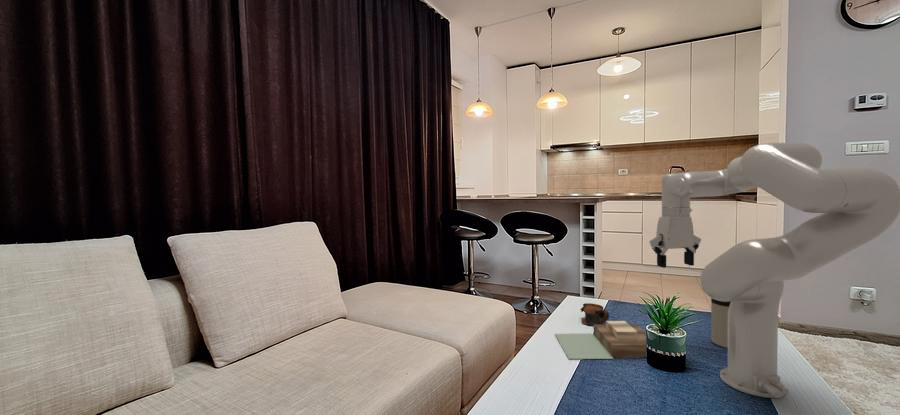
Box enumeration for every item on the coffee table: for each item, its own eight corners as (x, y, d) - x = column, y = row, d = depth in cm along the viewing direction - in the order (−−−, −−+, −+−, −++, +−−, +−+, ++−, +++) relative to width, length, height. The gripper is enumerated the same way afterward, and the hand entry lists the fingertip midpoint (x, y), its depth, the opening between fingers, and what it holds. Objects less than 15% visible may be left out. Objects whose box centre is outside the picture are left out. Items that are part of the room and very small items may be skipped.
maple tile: (637, 339, 107) (637, 331, 107) (617, 339, 107) (617, 331, 107) (624, 328, 116) (624, 320, 116) (606, 328, 116) (606, 321, 116)
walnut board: (660, 357, 103) (660, 344, 103) (612, 357, 104) (611, 344, 104) (635, 335, 119) (635, 323, 119) (593, 335, 120) (593, 324, 120)
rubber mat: (613, 359, 103) (613, 358, 103) (568, 359, 104) (568, 358, 104) (592, 334, 121) (592, 333, 121) (554, 334, 122) (554, 333, 122)
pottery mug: (573, 323, 133) (575, 302, 136) (590, 329, 137) (591, 308, 140) (601, 324, 123) (602, 301, 126) (618, 331, 127) (618, 308, 130)
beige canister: (735, 352, 105) (736, 293, 104) (706, 342, 112) (706, 287, 111) (748, 345, 109) (748, 288, 108) (718, 336, 116) (718, 283, 115)
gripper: (690, 210, 115) (689, 261, 116) (642, 212, 113) (642, 265, 114) (710, 212, 108) (709, 266, 109) (659, 214, 105) (659, 270, 106)
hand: (675, 265), depth 111 cm, fingers open, 9 cm apart
